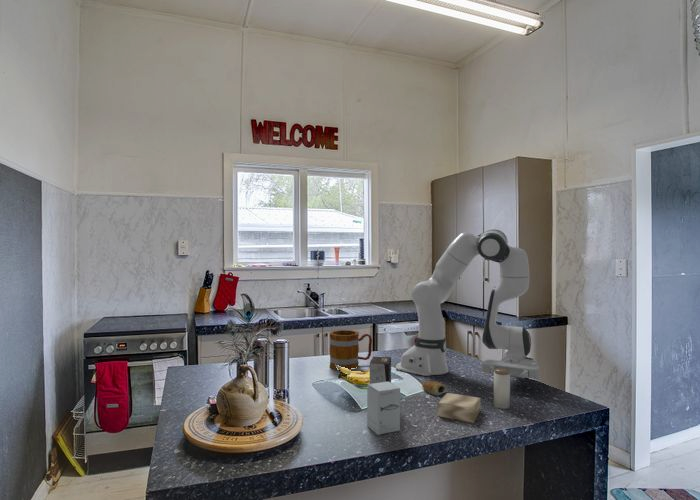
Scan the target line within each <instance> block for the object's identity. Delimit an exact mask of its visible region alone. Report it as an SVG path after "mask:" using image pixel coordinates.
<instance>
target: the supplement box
mask: <svg viewBox="0 0 700 500" xmlns="http://www.w3.org/2000/svg"><path fill="white" fill-rule="evenodd" d="M366 386H367V387H366V388H367V390H366V391H367V395H366V396H367V399H366V402H367V403H366V404H367V405H366V407H367V408H366V411H367V412H366V413H367V415H366V416H367V417H366V418H367V419H366V420H367V421H366V427H368V428H370V430H371V431H372V432H374V433H375V434H376V435H378V436H380V435H384V434H389V433H396V432H399V431H400V430H401V388H400V387H399V386H397V385H396V384H394V383H392V382H391V383H390V382H381V383H373V384H370V383H369V384H367V385H366Z"/></svg>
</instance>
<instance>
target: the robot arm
mask: <svg viewBox="0 0 700 500" xmlns="http://www.w3.org/2000/svg"><path fill="white" fill-rule="evenodd" d="M507 237H508V236H507V235H506V234H505V233H504V232H503V231H501V230H499V229H490V230H486V231H485V232H482V233H480V234H478V235H474V234H473V233H472V232H471V233H470V232H467V231H465V232H462V233H460V234H459V235H457V236H456V237H455V238H454V239H453V240H452V242H450V244H449V245H448V247H447V248H446V249H445V251H444V253H442V255H441V257H440V258H439V259H438V261H437V262H436V264H435V268H434V270H433V273H432V275H431V276H430V277H429V279H428V280H423V281H420V282H418V283H416V284H415V286H414V287H412V290H411V293H410V296H411V300H412V302H413V303H414V304H415V308H416V313H417V317H418V319H417V320H418V335H417V336H416V337H415V338H414V339H413V343H414V345H413V346H411V347H410V348H408V349H407V350H405V351H404V352H403V353H402V355H401V358H400V362H398V363H397V364H396V365H395V369H396V368H397V369H399V370H398V371H400V370H402V371H401V372H405V373H409V374H414V375H420V376H423V377H424V376H425V377H429V376H435V375H437V376H439V375H444V374H447V373H449V368H448V365H447V357H446V350H447V341H446V337H445V333H446V332H445V329H446V328H445V327H446V326H445V324H446V323H445V322H446V321H445V317H443V314H442V308H441V304H443V303H445V302H446V301H447V300H448V299H449V297H450V296H451V294H452V292H453V289H454V288H455V285H456V283H457V282H458V280H459V279H460V277H461V276H462V274H464V272H465V271H466V269H467V268H468V266H470V263H472V261H473V260H474V259H475V257H476V256H479V255H480V257H482V258H483V259H484V260H485V259H486V260H487V261H491V262H495V263H498V265H499V280H498V281H499V282H498V283H497V285H496V286H494V287H492V290H491V292H490V296H489V301H488V305H487V311H486V316H485V322H484V327H483V330H482V331H481V341H482V344H483V345H484V346H485V347H486V348H487V349H489V350H506V352H505V353H504V354H503V356H502V358H501V359H500V360H498V359H490V358H489V359H485V360H484V361H482V362H481V372H483V373H486V374H491V376H492V375H493V376H494V371H495V369H496V368H504V369H508V370H509V373H510V378H517V377H518V378H519V379H525V378H528V379H533V380H534V379H535V380H537V379H538V380H539V379H540V365H539V364H538V362H537V360H536V359H535V358H533V357H528V355H529V354H530V352H531V346H532V338H531V335H530V332H529V331H528V330H527V329H526V328H525V327H523V326H514V325H501V324H498V323H497V319H498V318H497V317H498V312H499V308H500V307H499V306H500V305H501V304H503V303H504V302H508V301H510V300H513V299H517V298H519V297H521V296H523V295H525V294H526V293H527V292H528V291H529V287H530V280H531V279H530V273H531V272H530V264H529V263H530V262H529V257H528V254H527V251H525V249H523V248H520V247H512V246H510V245H509V244H508V238H507Z"/></svg>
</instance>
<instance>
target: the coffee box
mask: <svg viewBox="0 0 700 500" xmlns="http://www.w3.org/2000/svg"><path fill="white" fill-rule="evenodd" d="M381 382H390V383H392V357H391V356H372V358H371V360H370V362H369V384H373V383H381Z"/></svg>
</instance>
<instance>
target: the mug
mask: <svg viewBox="0 0 700 500" xmlns="http://www.w3.org/2000/svg"><path fill="white" fill-rule="evenodd" d="M359 336H360V332H359V331H358V330H357V331H356V330H352V329H351V330H350V329H340V330H332V331H330V333H329V340H330V341H329V342H330V343H329V369H332V370H335V371H338V370H337V368H336V366H335V364H336V365H339V366H341V367H345V368H348V369H351V368H356V367H358V368H359V366H358V364H359V360H364V361H368V360H370V358H371V355H372V345H373V344H372V343H373V339H372V336H371V335H370V334H369V333H364V334H363V335H361V336H360V337H359ZM366 337H368V352H367V356H366V357H364V356H359V352H360V351H359V350H360V349H359V346H360V345H359V342H361V341H363V340H364V339H365V338H366Z"/></svg>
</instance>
